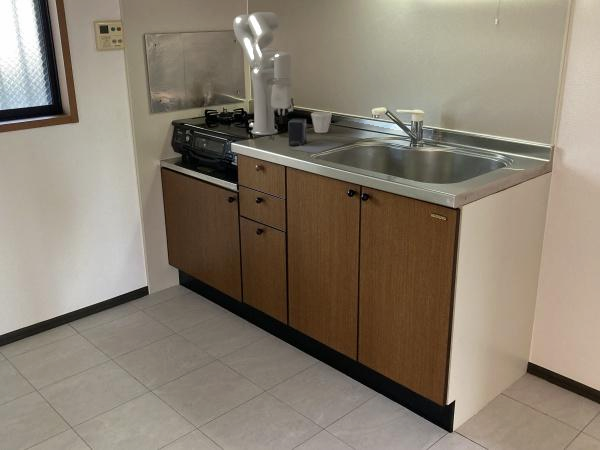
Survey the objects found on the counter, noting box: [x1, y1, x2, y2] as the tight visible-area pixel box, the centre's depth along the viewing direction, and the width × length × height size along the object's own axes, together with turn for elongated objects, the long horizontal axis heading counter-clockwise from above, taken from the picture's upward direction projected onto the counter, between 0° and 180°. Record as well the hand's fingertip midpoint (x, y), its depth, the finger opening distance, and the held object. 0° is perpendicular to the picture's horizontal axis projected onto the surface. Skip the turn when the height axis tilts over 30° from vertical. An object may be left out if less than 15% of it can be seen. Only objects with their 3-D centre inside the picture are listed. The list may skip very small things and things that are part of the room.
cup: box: [310, 111, 333, 134], centre depth 303 cm, size 10×10×9 cm
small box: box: [287, 118, 307, 146], centre depth 278 cm, size 11×6×10 cm, turn 168°
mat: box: [290, 140, 346, 155], centre depth 273 cm, size 14×22×1 cm, turn 143°
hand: (283, 123), depth 281 cm, fingers closed
